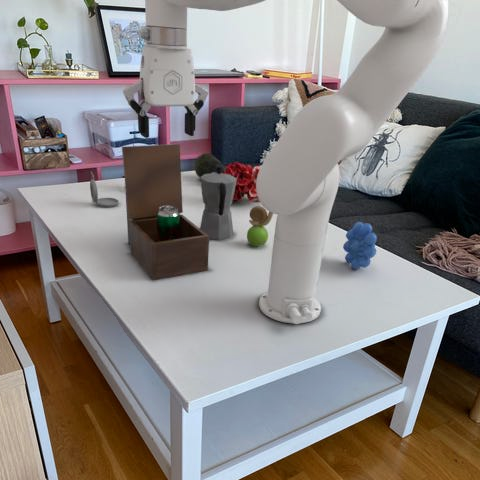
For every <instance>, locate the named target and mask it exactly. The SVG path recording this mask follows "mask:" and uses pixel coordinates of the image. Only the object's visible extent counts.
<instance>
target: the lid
mask: <svg viewBox="0 0 480 480" xmlns="http://www.w3.org/2000/svg"><path fill="white" fill-rule="evenodd" d="M121 154H122V155H121V156H122V163H123V165H122V166H123V175H124V187H125V188H124V189H125V200H126V199H127V210H128V218H129V219H133V218H141V217H150V216H157V212H158V208H159V207H161V206H174V207H177V208H178V212H179V213H180V214H183V212H184V209H183V189H182V166H181V145H180V144H179V143H173V144H172V143H169V144H150V145H149V144H148V145H134V146H133V145H130V146H129V145H128V146H121Z"/></svg>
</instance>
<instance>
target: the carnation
mask: <svg viewBox="0 0 480 480" xmlns="http://www.w3.org/2000/svg"><path fill="white" fill-rule="evenodd" d="M217 166H221V167H223V168H222V172H221V173H223V174H228V175H231V176H233V177H235V178H237V182H236V186H235V191H234V196H233V201H232V203H237V202H240V201H241V200H243V198H245V197H244V196H246V198H247V200H248V201H249V202H253V203H254V202H256V201H258V202H260V201H259V198H258V196H257V191H256V180H257V176H258V173H259V170H260V168H261V166H262V164H261V165H256V166H254V167H253V166H251V165H250V164H247V165H244V164H243V163H239V162H237V161H235V162H234V163H233V164H232V163H228V165H224V164H223V163H222V162H221V161H220V160H219V159H218V158H217V157H216V156H214V155H213V154H212V153H210V152H204V153H202V154H200V155H199V156H197V158H196V159H195V162H194V171H195V175H197V177H198V178H199V179H200V178H201V177H202V176H203V175H204V174H211V173H212V172H215V173H217V170H216V167H217Z"/></svg>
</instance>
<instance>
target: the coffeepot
mask: <svg viewBox="0 0 480 480" xmlns="http://www.w3.org/2000/svg"><path fill="white" fill-rule="evenodd" d="M222 168H223V167H221V166H217V167H216V170H217V173H215V172H212V173H211V174H204V175H203V176H202V177H201V178H200V177H199V179H200V187H201V196H202V203H203V204H204V209H203V211H202V216H201V220H200V226H199V228H200V229H201V230H202V231H203V232H205V233H206V234H207V235H208V236H209V240H211V241H212V240H213V241H225V240H229V239H230V238H232V236H233V234H234V224H233V216H232V211H231V205H232V204H233V202H232V201H233V196H234V191H235V186H236V182H237V178H235V177H233V176H231V175H228V174H223V173H221V172H222Z"/></svg>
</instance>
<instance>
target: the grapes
mask: <svg viewBox="0 0 480 480" xmlns="http://www.w3.org/2000/svg"><path fill="white" fill-rule="evenodd" d="M345 238H346V241H345V242H344V243H343V245H342V248H343V250H344V252H346V254H345V256H344V259H345V261H346V263H348V264H350V267H351V268H352V269H353V270H356V271H357V270H360V269H361V268H363V269H364V268H367V267H369V266H370V264H371V261H372V260H371V259H372V258H374V257H375V256H376V254H377V249H376V243H377V241H378V236H377V234H375V233H374V232H373V226H372V225H371V224H370V223H368V222H367V223H364V222H362V221H357V222H355V223H354V224H353V226H352V228H350V229H349V230H347V232H346V234H345Z"/></svg>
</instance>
